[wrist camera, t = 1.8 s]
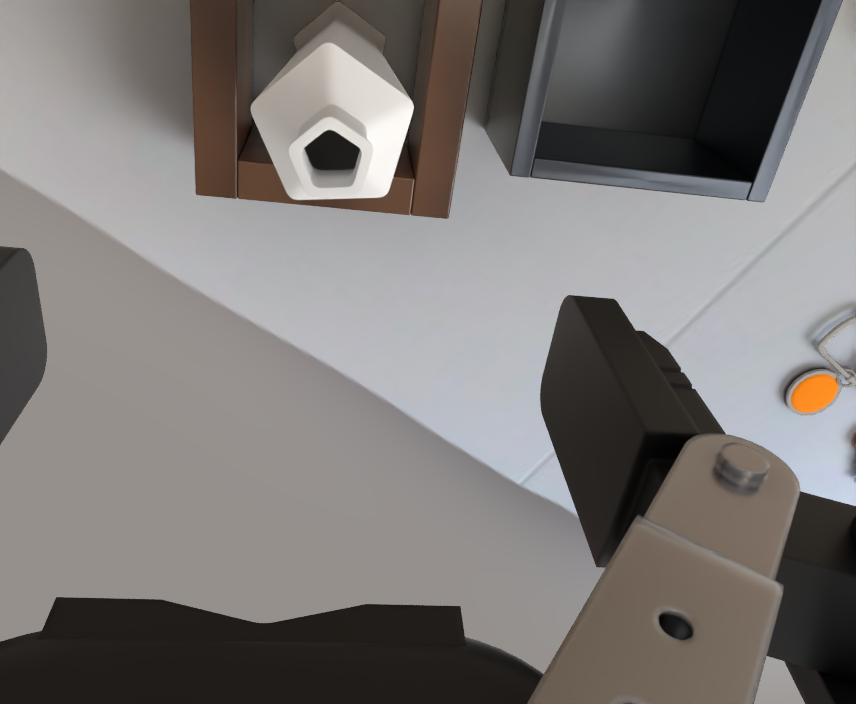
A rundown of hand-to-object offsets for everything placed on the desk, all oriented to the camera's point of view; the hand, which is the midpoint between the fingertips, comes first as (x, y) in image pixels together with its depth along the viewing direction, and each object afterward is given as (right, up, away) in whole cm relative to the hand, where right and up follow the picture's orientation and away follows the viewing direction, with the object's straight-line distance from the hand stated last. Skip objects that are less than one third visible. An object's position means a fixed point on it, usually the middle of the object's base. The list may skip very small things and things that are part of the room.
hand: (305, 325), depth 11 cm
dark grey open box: (+11, +15, +19) cm, 27 cm away
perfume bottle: (-2, +13, +20) cm, 24 cm away
